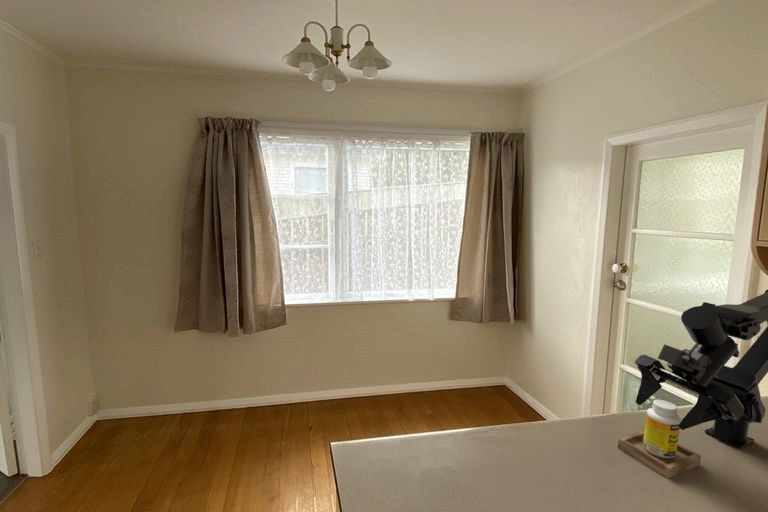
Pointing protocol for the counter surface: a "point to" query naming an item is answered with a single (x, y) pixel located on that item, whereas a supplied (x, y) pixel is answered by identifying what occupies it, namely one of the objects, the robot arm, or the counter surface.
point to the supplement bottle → (662, 429)
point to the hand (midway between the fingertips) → (657, 415)
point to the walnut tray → (666, 467)
